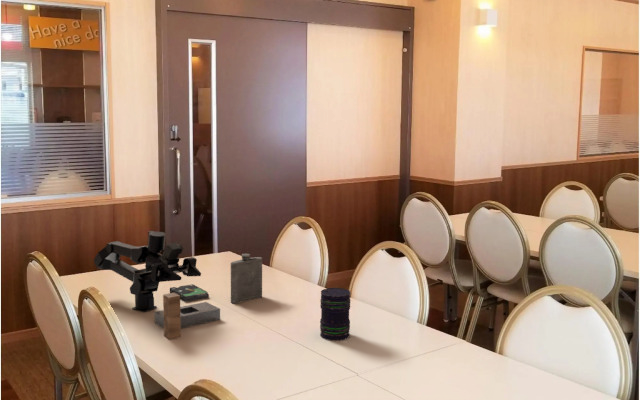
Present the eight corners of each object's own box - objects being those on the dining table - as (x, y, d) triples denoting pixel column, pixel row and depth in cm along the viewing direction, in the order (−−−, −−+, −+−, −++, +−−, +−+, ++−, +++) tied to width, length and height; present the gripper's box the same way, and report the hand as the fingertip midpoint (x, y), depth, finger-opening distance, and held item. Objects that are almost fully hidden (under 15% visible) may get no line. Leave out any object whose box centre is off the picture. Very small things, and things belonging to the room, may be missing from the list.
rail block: (154, 323, 233) (154, 312, 232) (206, 312, 245) (205, 301, 245) (168, 331, 225) (167, 319, 225) (220, 319, 238) (220, 308, 237)
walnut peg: (164, 336, 221) (163, 294, 219) (175, 333, 223) (174, 292, 221) (169, 339, 218) (168, 297, 216) (180, 336, 220) (180, 295, 218)
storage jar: (353, 332, 226) (354, 289, 224) (344, 342, 217) (345, 297, 215) (325, 329, 230) (326, 286, 227) (315, 338, 220) (316, 294, 218)
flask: (228, 302, 258) (227, 256, 256) (257, 295, 268) (257, 250, 265) (233, 304, 256) (233, 257, 253) (263, 297, 265) (263, 252, 263)
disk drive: (169, 294, 269) (185, 303, 258) (168, 287, 269) (185, 296, 257) (192, 290, 275) (209, 298, 264) (192, 283, 275) (209, 291, 263)
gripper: (142, 244, 231) (173, 257, 222) (183, 238, 246) (213, 251, 237) (138, 275, 233) (169, 289, 224) (179, 267, 248) (209, 280, 239)
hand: (190, 276), depth 231 cm, fingers open, 9 cm apart
